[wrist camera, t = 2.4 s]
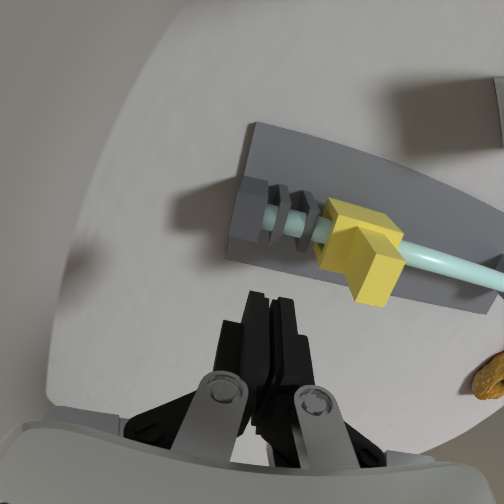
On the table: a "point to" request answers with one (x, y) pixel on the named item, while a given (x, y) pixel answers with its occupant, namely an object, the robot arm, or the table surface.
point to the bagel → (490, 379)
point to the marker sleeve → (361, 251)
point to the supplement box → (500, 101)
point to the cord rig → (371, 197)
